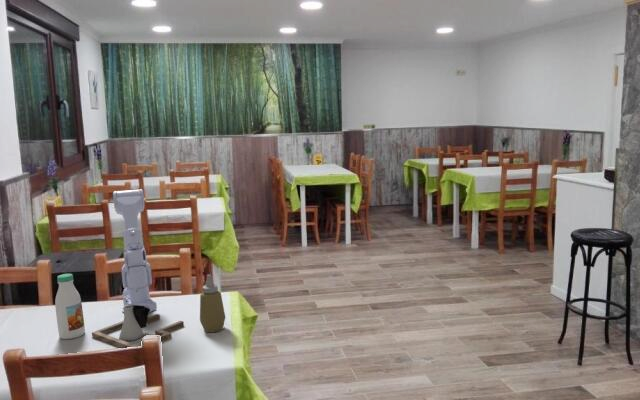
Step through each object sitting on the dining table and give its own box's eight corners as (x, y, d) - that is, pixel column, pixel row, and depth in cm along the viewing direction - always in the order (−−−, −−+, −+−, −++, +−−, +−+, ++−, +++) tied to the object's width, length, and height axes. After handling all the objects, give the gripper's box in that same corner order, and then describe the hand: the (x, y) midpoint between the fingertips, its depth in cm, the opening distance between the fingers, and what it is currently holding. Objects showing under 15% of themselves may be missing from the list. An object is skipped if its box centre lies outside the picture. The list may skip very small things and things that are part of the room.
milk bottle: (59, 341, 174) (51, 280, 171) (58, 333, 181) (51, 274, 178) (86, 336, 177) (79, 275, 174) (84, 328, 184) (77, 270, 181)
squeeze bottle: (202, 325, 182) (197, 272, 179) (227, 323, 182) (223, 270, 180) (199, 335, 174) (194, 279, 171) (225, 333, 174) (220, 277, 172)
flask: (135, 342, 171) (132, 311, 169) (114, 341, 172) (111, 310, 171) (147, 332, 178) (144, 303, 176) (127, 331, 179) (124, 302, 178)
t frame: (92, 337, 177) (91, 332, 176) (149, 315, 193) (148, 311, 193) (135, 353, 163) (135, 348, 163) (192, 328, 180) (192, 324, 179)
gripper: (113, 286, 177) (118, 326, 179) (141, 293, 168) (145, 336, 170) (133, 280, 182) (137, 319, 185) (160, 287, 174) (164, 328, 176)
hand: (142, 327), depth 178 cm, fingers closed
